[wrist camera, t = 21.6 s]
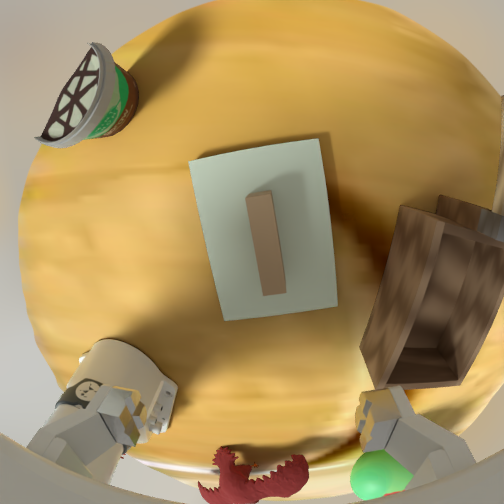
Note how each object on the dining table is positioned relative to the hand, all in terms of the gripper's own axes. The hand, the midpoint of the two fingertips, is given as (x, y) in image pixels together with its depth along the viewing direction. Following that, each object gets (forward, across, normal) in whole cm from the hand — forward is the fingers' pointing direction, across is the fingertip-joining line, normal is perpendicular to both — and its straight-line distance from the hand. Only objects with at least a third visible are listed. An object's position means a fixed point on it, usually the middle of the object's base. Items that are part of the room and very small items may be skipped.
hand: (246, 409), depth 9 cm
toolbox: (+25, -22, +6) cm, 34 cm away
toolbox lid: (+25, -1, 0) cm, 25 cm away
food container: (+26, +17, -17) cm, 35 cm away
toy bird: (+26, -25, +46) cm, 58 cm away
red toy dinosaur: (+26, +6, +46) cm, 53 cm away
